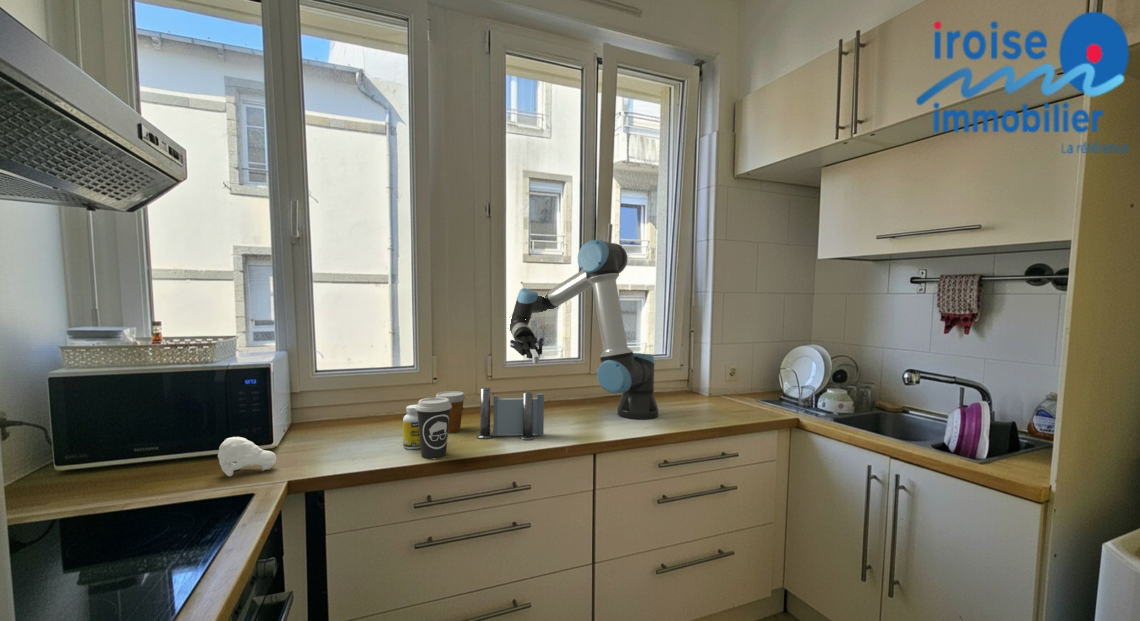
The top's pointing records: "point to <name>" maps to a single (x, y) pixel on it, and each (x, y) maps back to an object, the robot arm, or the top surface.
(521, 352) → the robot arm
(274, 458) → the white lumpy piece
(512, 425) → the gate
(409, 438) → the pill bottle
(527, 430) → the post
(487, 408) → the hinge post
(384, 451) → the top surface
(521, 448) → the top surface
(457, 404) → the disposable coffee cup
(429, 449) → the coffee cup
